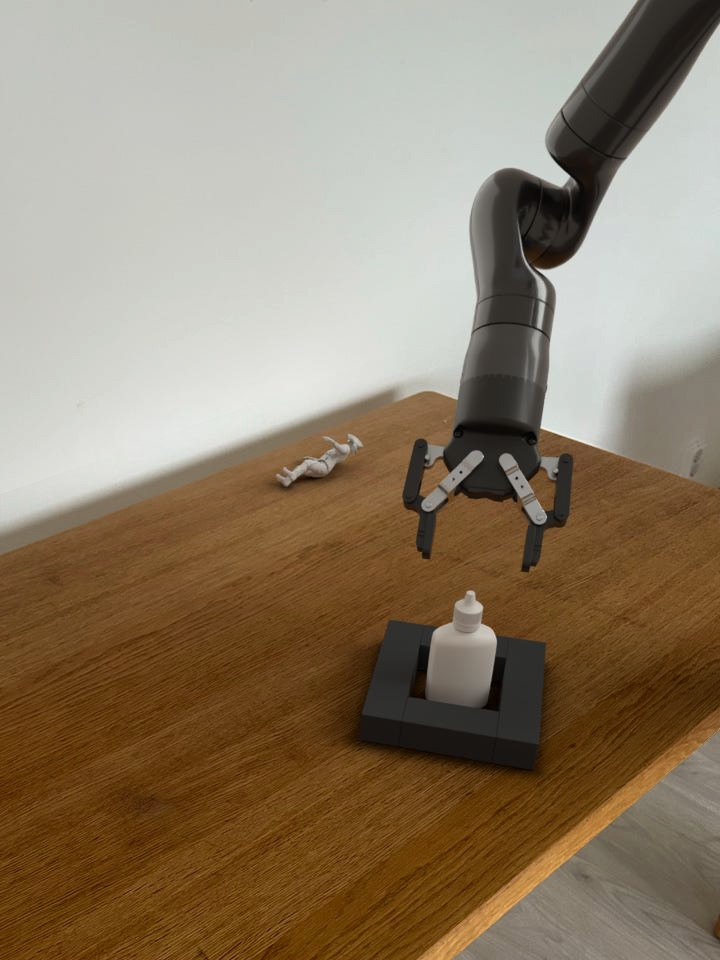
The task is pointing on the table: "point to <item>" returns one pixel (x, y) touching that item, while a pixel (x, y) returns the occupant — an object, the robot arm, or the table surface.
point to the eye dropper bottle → (462, 657)
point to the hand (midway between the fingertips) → (475, 563)
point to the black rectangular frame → (449, 725)
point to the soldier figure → (322, 461)
